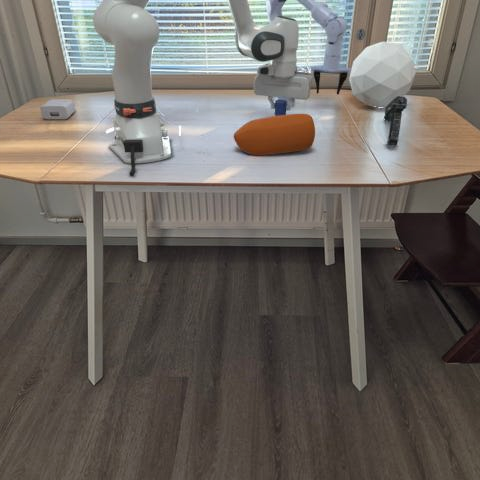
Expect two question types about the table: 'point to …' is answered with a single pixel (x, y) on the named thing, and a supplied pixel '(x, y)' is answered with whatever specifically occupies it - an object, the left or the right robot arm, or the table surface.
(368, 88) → the decorative sphere
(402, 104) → the futuristic handgun
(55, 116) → the charger
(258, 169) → the table surface
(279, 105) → the canister
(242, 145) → the orange tapered cylinder
